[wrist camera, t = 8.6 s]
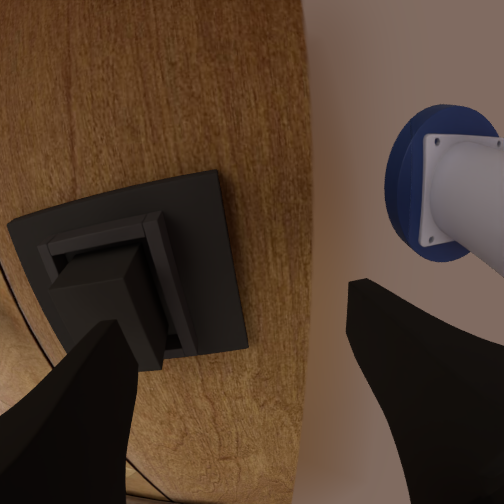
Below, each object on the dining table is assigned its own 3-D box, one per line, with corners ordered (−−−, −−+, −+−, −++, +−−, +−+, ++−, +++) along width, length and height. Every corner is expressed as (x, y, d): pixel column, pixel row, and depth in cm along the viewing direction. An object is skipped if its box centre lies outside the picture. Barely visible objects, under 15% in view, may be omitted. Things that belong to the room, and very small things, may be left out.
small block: (141, 241, 16) (123, 277, 13) (169, 325, 19) (162, 370, 16) (75, 254, 16) (47, 289, 13) (108, 332, 19) (93, 374, 15)
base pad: (217, 168, 16) (217, 178, 14) (247, 339, 22) (251, 363, 19) (13, 218, 16) (-7, 233, 13) (77, 356, 21) (68, 378, 19)
